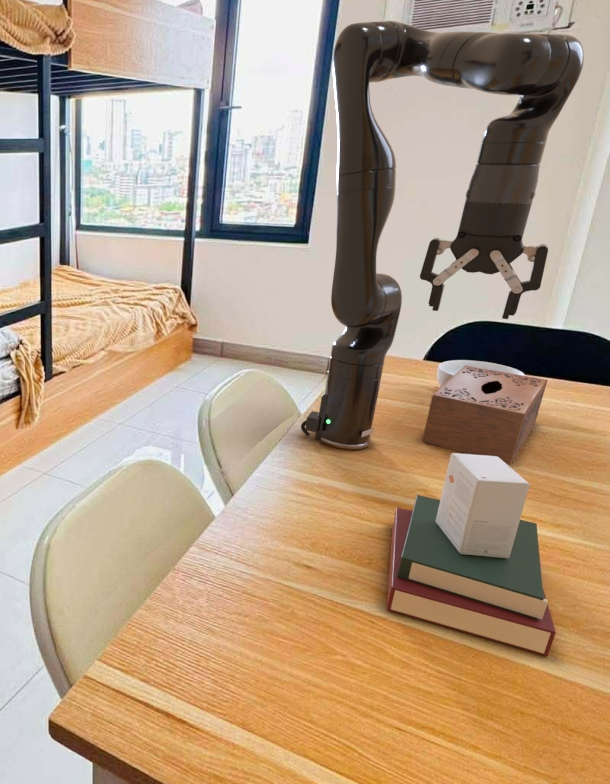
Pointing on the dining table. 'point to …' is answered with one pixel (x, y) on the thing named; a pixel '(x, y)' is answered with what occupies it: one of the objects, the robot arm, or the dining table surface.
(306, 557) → the dining table surface
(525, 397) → the tissue box cover
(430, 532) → the books
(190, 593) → the dining table surface
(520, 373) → the cereal bowl
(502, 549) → the small box
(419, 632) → the dining table surface
